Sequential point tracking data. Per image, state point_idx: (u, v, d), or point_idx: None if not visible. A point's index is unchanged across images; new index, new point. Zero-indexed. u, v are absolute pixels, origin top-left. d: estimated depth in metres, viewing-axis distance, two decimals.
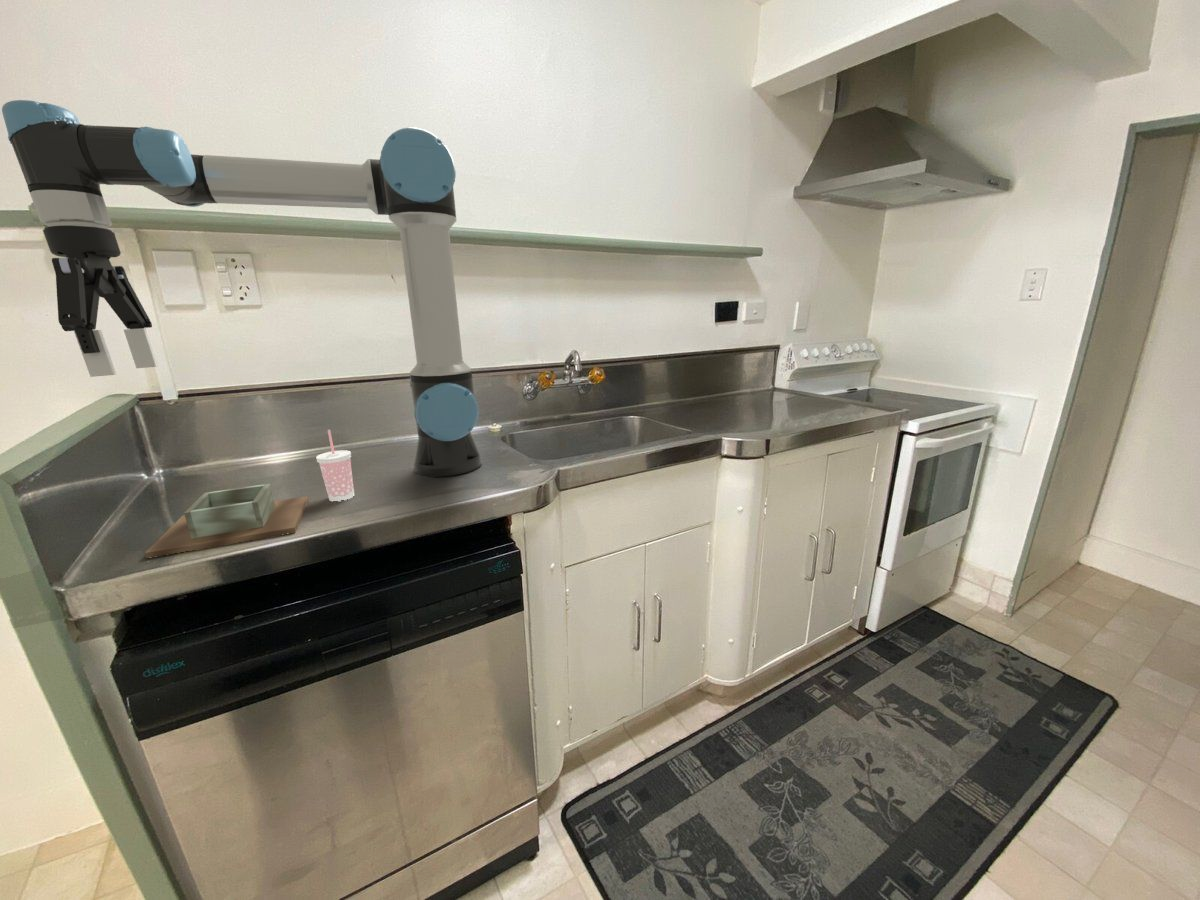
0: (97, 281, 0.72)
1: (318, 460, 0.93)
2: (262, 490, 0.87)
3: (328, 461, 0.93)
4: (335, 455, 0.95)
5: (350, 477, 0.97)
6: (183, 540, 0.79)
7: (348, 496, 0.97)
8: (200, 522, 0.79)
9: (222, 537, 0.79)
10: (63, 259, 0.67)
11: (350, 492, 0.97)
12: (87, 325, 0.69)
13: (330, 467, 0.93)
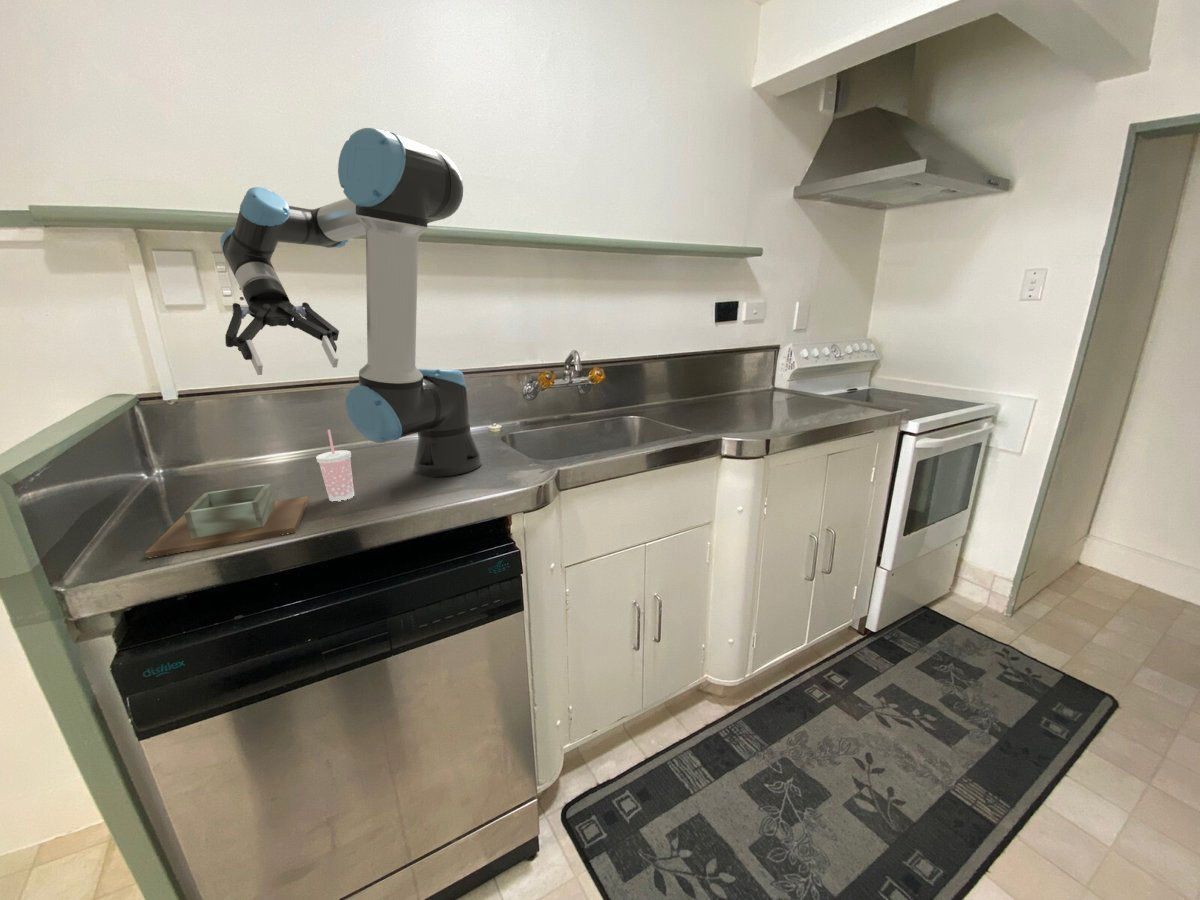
0: None
1: (318, 460, 0.93)
2: (262, 490, 0.87)
3: (328, 461, 0.93)
4: (335, 455, 0.95)
5: (350, 477, 0.97)
6: (183, 540, 0.79)
7: (348, 496, 0.97)
8: (200, 522, 0.79)
9: (222, 537, 0.79)
10: None
11: (350, 492, 0.97)
12: (238, 339, 0.93)
13: (330, 467, 0.93)
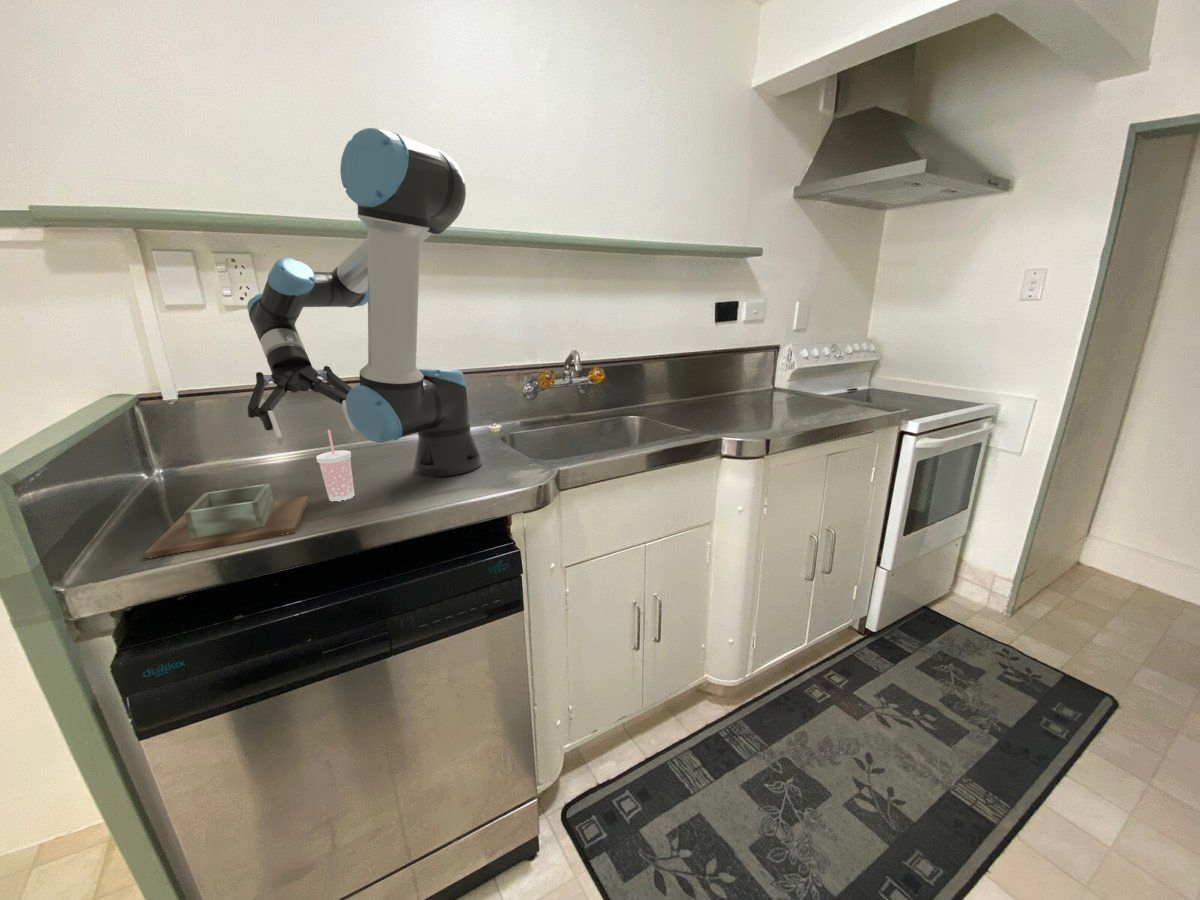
0: None
1: (318, 460, 0.93)
2: (262, 490, 0.87)
3: (328, 461, 0.93)
4: (335, 455, 0.95)
5: (350, 477, 0.97)
6: (183, 540, 0.79)
7: (348, 496, 0.97)
8: (200, 522, 0.79)
9: (222, 537, 0.79)
10: (256, 377, 0.99)
11: (350, 492, 0.97)
12: (259, 410, 0.94)
13: (330, 467, 0.93)
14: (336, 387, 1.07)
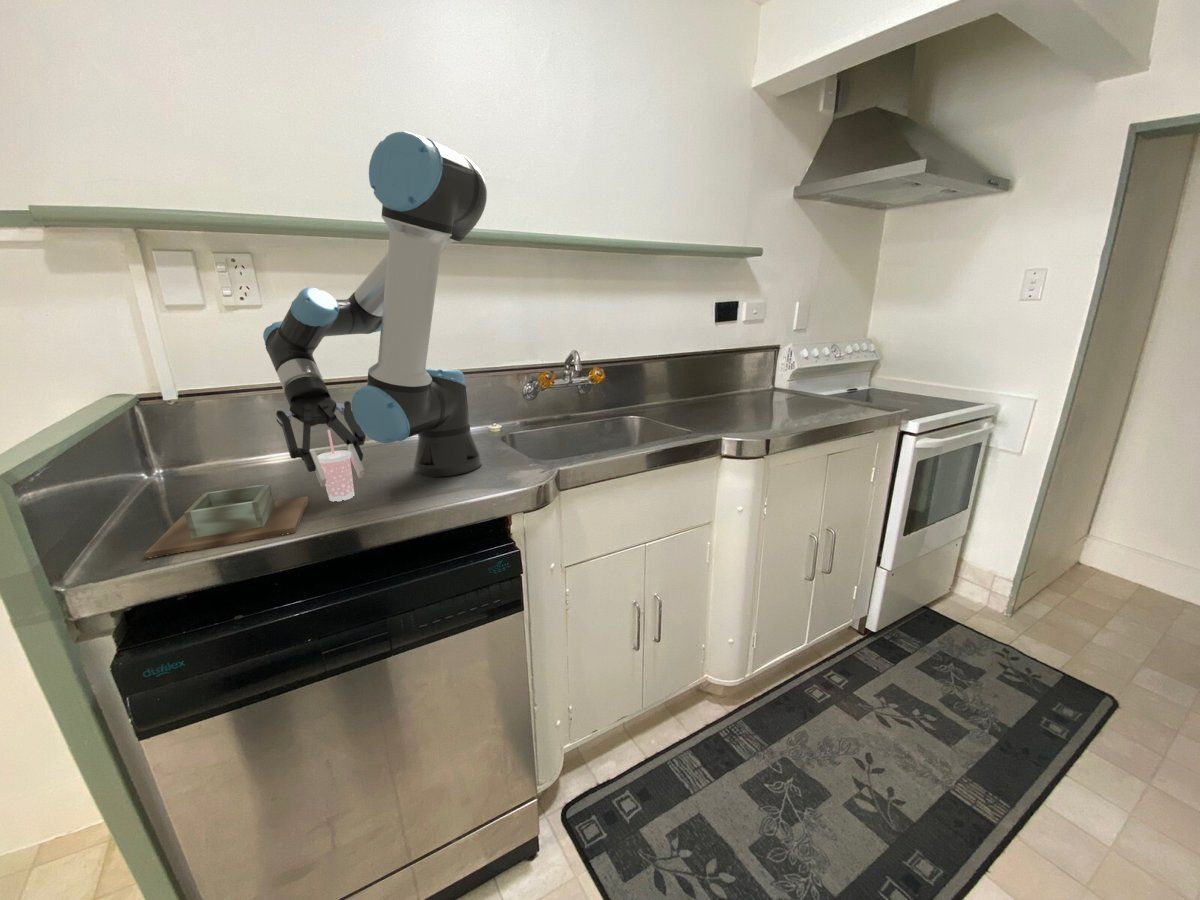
0: (304, 416, 0.96)
1: None
2: (262, 490, 0.87)
3: (328, 461, 0.93)
4: (335, 455, 0.95)
5: (350, 477, 0.97)
6: (183, 540, 0.79)
7: (348, 496, 0.97)
8: (200, 522, 0.79)
9: (222, 537, 0.79)
10: (276, 416, 0.94)
11: (350, 492, 0.97)
12: (302, 451, 0.92)
13: (330, 467, 0.93)
14: (349, 424, 1.01)
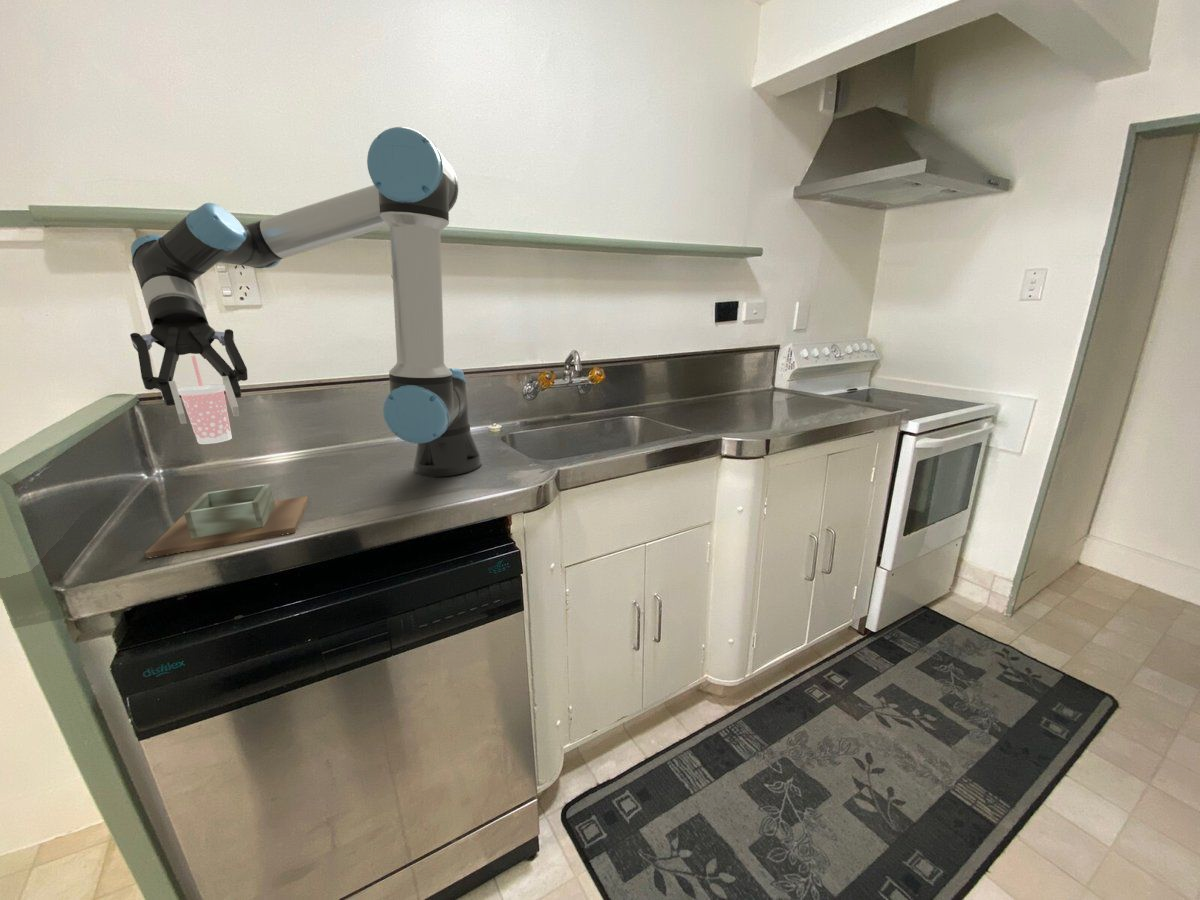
0: None
1: (179, 392, 0.77)
2: (262, 490, 0.87)
3: (190, 393, 0.76)
4: (202, 387, 0.78)
5: (223, 415, 0.80)
6: (183, 540, 0.79)
7: (221, 438, 0.80)
8: (200, 522, 0.79)
9: (222, 537, 0.79)
10: None
11: (223, 434, 0.81)
12: (158, 380, 0.76)
13: (194, 401, 0.77)
14: (229, 356, 0.85)
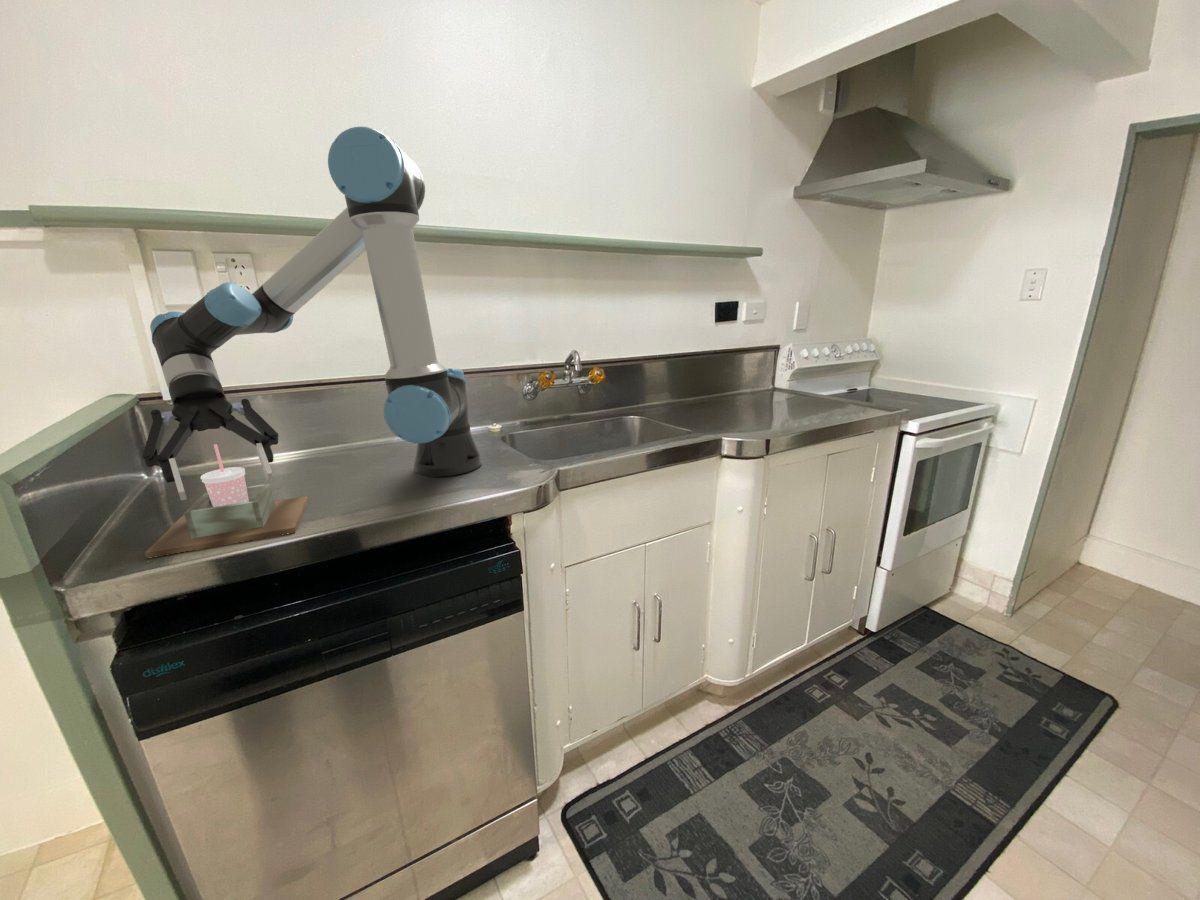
0: None
1: (202, 480, 0.81)
2: (262, 490, 0.87)
3: (213, 481, 0.80)
4: (224, 473, 0.82)
5: (244, 498, 0.84)
6: (183, 540, 0.79)
7: None
8: (200, 522, 0.79)
9: (222, 537, 0.79)
10: None
11: None
12: (158, 458, 0.78)
13: (217, 488, 0.81)
14: (254, 425, 0.90)
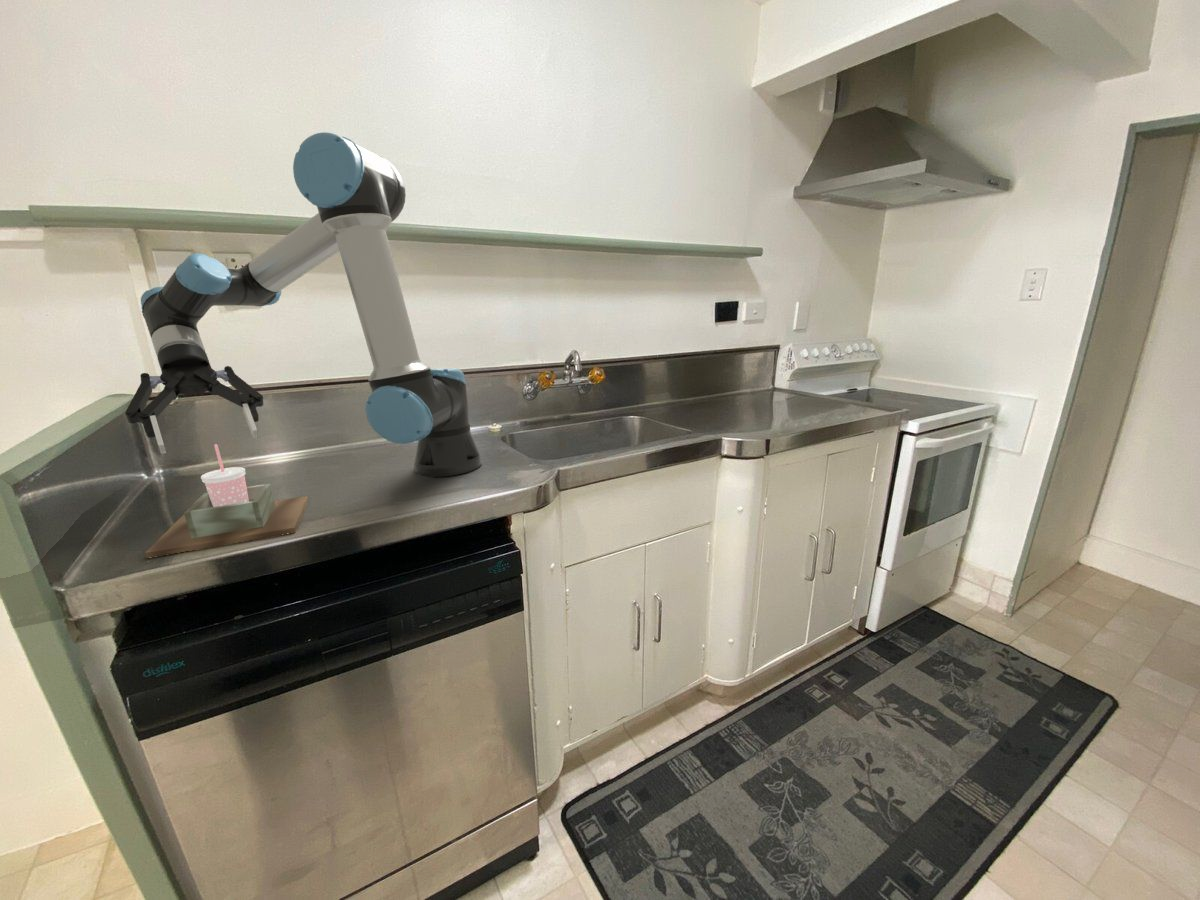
0: None
1: (202, 479, 0.81)
2: (262, 490, 0.87)
3: (214, 480, 0.80)
4: (224, 473, 0.82)
5: (244, 498, 0.84)
6: (183, 540, 0.79)
7: None
8: (200, 522, 0.79)
9: (222, 537, 0.79)
10: None
11: None
12: (140, 415, 0.85)
13: (217, 488, 0.81)
14: (239, 389, 0.98)
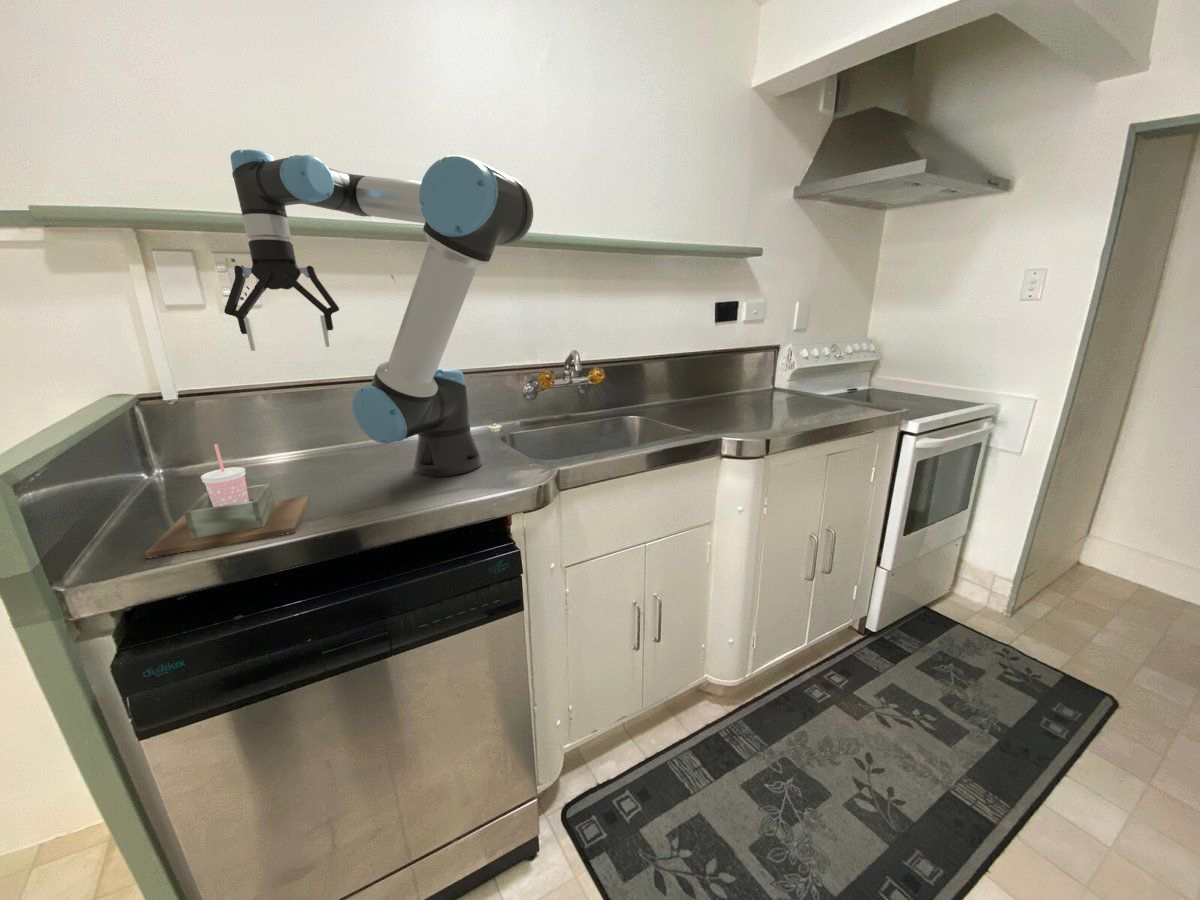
0: None
1: (202, 479, 0.81)
2: (262, 490, 0.87)
3: (214, 480, 0.80)
4: (224, 473, 0.82)
5: (244, 498, 0.84)
6: (183, 540, 0.79)
7: None
8: (200, 522, 0.79)
9: (222, 537, 0.79)
10: None
11: None
12: (236, 314, 0.98)
13: (217, 488, 0.81)
14: None
